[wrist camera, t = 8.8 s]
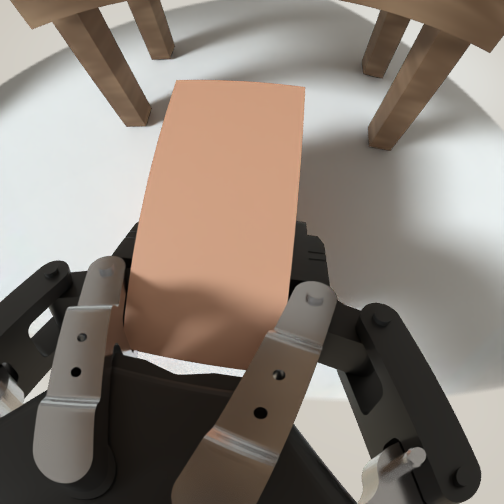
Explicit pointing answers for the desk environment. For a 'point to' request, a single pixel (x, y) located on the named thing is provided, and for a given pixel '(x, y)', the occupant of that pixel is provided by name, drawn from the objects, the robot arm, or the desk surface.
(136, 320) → the terracotta block
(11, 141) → the desk surface
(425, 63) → the walnut cabinet
